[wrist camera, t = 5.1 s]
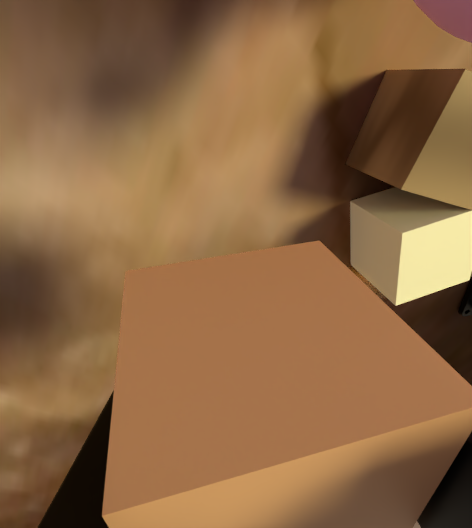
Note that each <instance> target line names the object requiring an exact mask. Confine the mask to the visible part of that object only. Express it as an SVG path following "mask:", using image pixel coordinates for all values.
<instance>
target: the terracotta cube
mask: <svg viewBox="0 0 472 528" xmlns="http://www.w3.org/2000/svg"><path fill="white" fill-rule="evenodd" d="M471 432H472V386H471V385H470V384H469V383H468V382H467V381H466V380H465V379H464V378H463V377H462V376H461V375H460V374H459V373H458V372H457V371H455V370H454V369H453V368H452V367H451V366H450V365H449V364H448V363H447V362H446V361H445V360H444V359H443V358H442V357H441V356H440V355H439V354H438V353H437V352H436V351H435V350H434V349H432V348H431V347H430V346H429V345H428V344H427V343H426V342H425V341H424V340H423V339H422V338H421V337H420V336H419V335H418V334H417V333H416V332H415V331H414V330H413V329H412V328H410V327H409V326H408V325H407V324H406V323H405V322H404V321H403V320H402V319H401V318H400V317H399V316H398V315H397V314H396V313H395V312H394V311H393V310H392V309H391V308H390V307H388V306H387V305H386V304H385V303H384V302H383V301H382V300H381V299H380V298H379V297H378V296H377V295H376V294H375V293H374V292H373V291H372V290H371V289H370V288H369V287H368V286H366V285H365V284H364V283H363V282H362V281H361V280H360V279H359V278H358V277H357V276H356V275H355V274H354V273H353V272H352V271H351V270H350V269H349V268H348V267H347V266H346V265H345V264H343V263H342V262H341V261H340V260H339V259H338V258H337V257H336V256H335V255H334V254H333V253H332V252H331V251H330V250H329V249H328V248H327V247H326V246H325V245H324V244H323V243H321V242H320V241H313V242H306V243H300V244H294V245H287V246H281V247H274V248H268V249H262V250H255V251H249V252H243V253H236V254H230V255H224V256H217V257H211V258H205V259H198V260H192V261H186V262H179V263H173V264H167V265H160V266H154V267H148V268H141V269H135V270H129V271H125V282H124V292H123V302H122V313H121V323H120V333H119V344H118V354H117V364H116V375H115V385H114V395H113V406H112V416H111V426H110V437H109V447H108V457H107V468H106V478H105V488H104V499H103V509H102V517H103V519H104V521H105V522H106V524H107V525H108V527H109V528H413V526H414V524H415V523H416V521H417V520H418V518H419V516H420V515H421V513H422V511H423V510H424V508H425V507H426V505H427V503H428V502H429V500H430V498H431V497H432V495H433V494H434V492H435V490H436V489H437V487H438V485H439V484H440V482H441V481H442V479H443V477H444V476H445V474H446V472H447V471H448V469H449V467H450V466H451V464H452V463H453V461H454V459H455V458H456V456H457V454H458V453H459V451H460V450H461V448H462V446H463V445H464V443H465V441H466V440H467V438H468V437H469V435H470V433H471Z"/></svg>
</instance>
